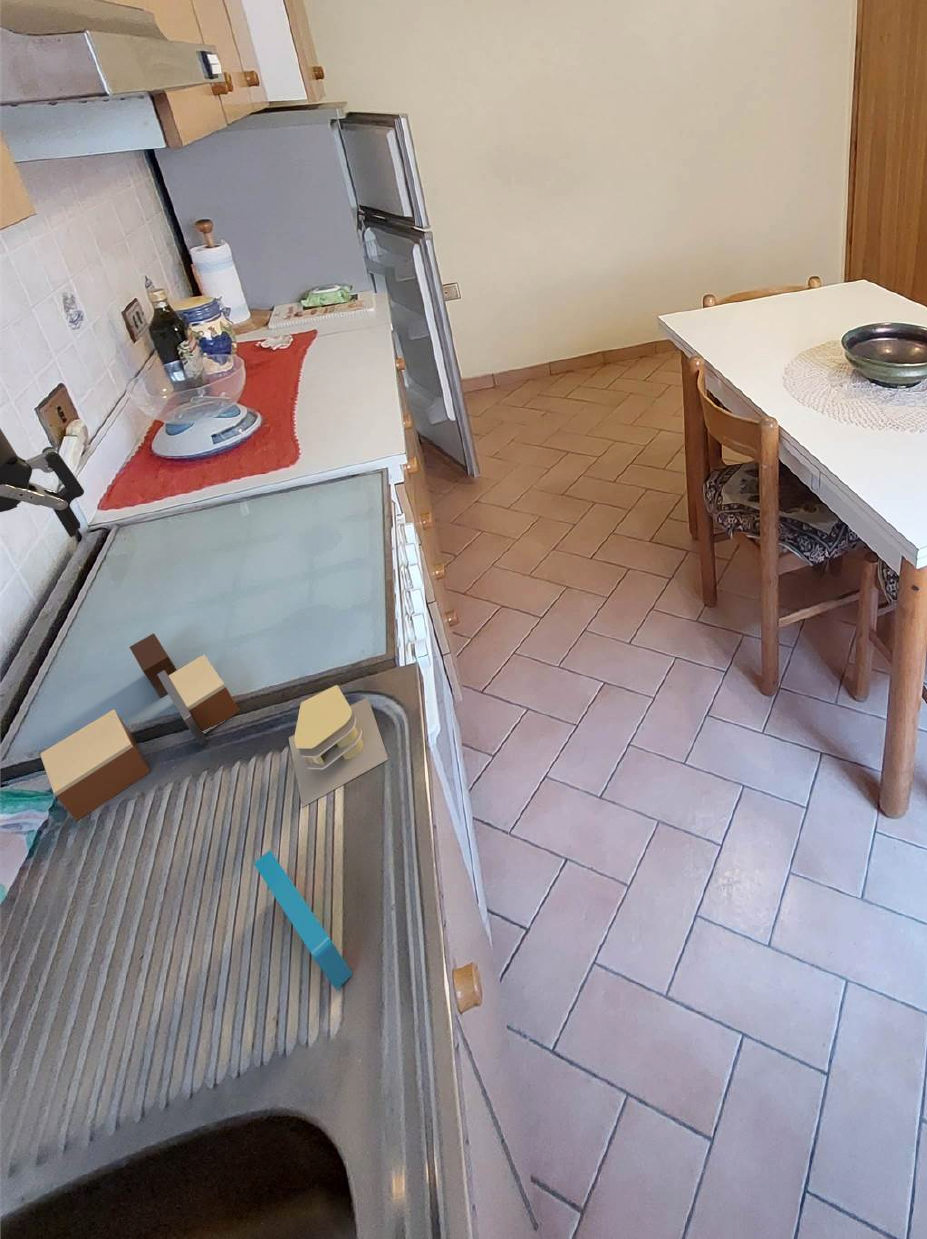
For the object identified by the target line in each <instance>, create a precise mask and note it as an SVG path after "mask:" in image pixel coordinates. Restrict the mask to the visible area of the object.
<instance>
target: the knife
mask: <svg viewBox="0 0 927 1239" xmlns="http://www.w3.org/2000/svg"><path fill="white" fill-rule="evenodd" d="M129 650H130V651H131V653H132V654H133V656H134V658H135V660H136V662H137V663H138V665H139V667H140V669H141V670H142V672H143V674H144V676H145V677H146V678H147V680H148V681H149V683H150V684H151V686H152V688H153V689H154V690H155V692H156V694H157V695H158V696H159V698H160V699H162V698H164V697H165V696H167V695H168V696H169V698H170V699H171V701H172V703H173V704H174V706H175V708H176V710H177V711H178V713H179V715H180V717H181V718H182V720H183V722H184V723H185V724H186V727H187V728H188V729H189V731H190V732H191V734H192V735H193V737H194V739H195V740H196V741H197V743H198V744H199V746H200V748H204V747H205V746H207V745H208V744H209V743H208V742H209V740H208V738H207V736H206V734H205V735H204V734H203V732H202V730H201V729H200V727H199V726H198V724H197V722H196V721H195V719H194V718H193V716H192V715H191V713H190V711H189V710H188V708H187V707H186V705H185V703H184V702H183V700H182V698H181V697H180V695H179V693H178V692H177V690H176V688H175V687H174V685H173V683H172V682H171V680H170V678H169V677H168V676H169V675H170V674H172V673H174V672H175V671H177V670H178V669H177V667H176V666H175V664H174V662H173V661H172V659H171V657H170V656H169V654H168V653H167V651H166V650H165V648H164V646H163V645H162V643H161V642H160V640H159V638H158V637H157V635H156V634H155V633H154V632H153V633H151V634H149V635H148V636H146V637H144V638H142V639H140V640H139V641H138V642H135V643H134V644H132V645H130V646H129ZM206 738H207V739H206ZM207 743H208V744H207Z"/></svg>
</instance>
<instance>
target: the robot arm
mask: <svg viewBox="0 0 927 1239" xmlns="http://www.w3.org/2000/svg"><path fill="white" fill-rule="evenodd" d="M33 470H41V471H42V472H43V473H45V474H50V473H53V472H54V474H55V475H56V476H57V478H58V479H59V481H60V482H61V483H62V486H64V487H62V488H61V489H60V490H58V491H56V490H53V489H49V488H46V487H43V486H42V485H40V484H37V483H34V482H32V481H30V480H31V477H32V474H33ZM84 494H85V490H84V488H83V487H82V485H81V483H80V482H79V480H78V479H77V478H76V476H75V475H74V473H73V472H72V470H71V469H70V468H69V467H68V465H67V463H66V462H65V460H64V459H63V457H62V456H61V455H60V453H59V452H58V450H57V448H55V447H53V446H47V447H45V448H43V449H42V452H41V453H40V454H37V455H36V456H33V457H30V458H28V459H24V458H21V457H20V456H19V455H18V454H17V453H16V451H15V450H14V448H13V446H12V445H11V443H10V442H9V440H8V438H7V437H6V435H5V434H4V432H3V430H2V429H1V428H0V513H4V512H8V511H11V510H14V509H16V508H18V505H20V503H22V502H24V503H27V504H31V505H34V506H37V507H38V506H43V507H46V508H49V509H52V510H53V513H55V515H56V517H57V518H58V520H59V522H60V523H61V525H62V526H63V528H64V529H65V531H66V533H67V535H68V536H69V538H70V539H71V538H74V537H76V536H78V533H77V530H80V529H81V523H80V521H79V519H78V517H77V516H76V514H75V512H74V511H73V509H72V507H71V503H72V502H73V501H74V500H75V499H77V498H80V497H82V496H83V495H84Z"/></svg>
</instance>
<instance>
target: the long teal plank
mask: <svg viewBox="0 0 927 1239" xmlns="http://www.w3.org/2000/svg"><path fill="white" fill-rule="evenodd" d="M253 865H254V866H255V868H256V870H257V871H258V873H259V874H260V876H261V878H262V879H263V881H264V882H265V884H266V885H267V887H268V888H269V890H270V892H271V893H272V895H273V896H274V898H275V900H276V901H277V902H278V904H279V906H280V908H281V909H282V910H283V912H284V914H285V915H286V917H287V918H288V920H289V922H290V923H291V924H292V926H293V928H294V929H295V931H296V933H297V934H298V936H299V937H300V939H301V940H302V942H303V943H304V945H305V947H306V948H307V949H308V951H309V953H310V954H311V956H312V958H313V959H314V960H315V962H316V963H317V964H318V966H319V968H320V969H321V970H322V972H323V973H324V975H325V976H326V978H327V979H328V980H329V982H330V983H331V985H332V986H333V989H335V991H338V990H339V989H340V988H341V987H342V986H343V985H344V984H345V983H346V982H347V980H348V979H350V978H351V977H352V976H353V972H352V971H351V969H350V967H349V966H348V964H347V963H346V961H345V960H344V957H342V955H341V954H340V952H339V951H338V949H337V947H336V946H335V944H334V943H333V942H332V939H331V938H330V937H329V935H328V933H327V932H326V930H325V929H324V928H323V926H322V924H321V923H320V922H319V920H318V919H317V918H316V916H315V914H314V913H313V911H312V910H311V908H310V907H309V905H308V904H307V903H306V901H305V900H304V898H303V896H302V895H301V894H300V892H299V891H298V889H297V888H296V886H295V884H294V883H293V881H292V880H291V878H290V877H289V876H288V874H287V872H286V871H285V870H284V868H283V867H282V865H281V864H280V863H279V861H278V859H277V858H276V856H275V854H274V853H273V852H272V851H271V849H268V850H267V851H266V852H265V853H264V854H262V856H260V857H259V858H257V859H256V860H255V861H254V862H253Z"/></svg>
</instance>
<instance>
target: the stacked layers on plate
mask: <svg viewBox="0 0 927 1239" xmlns="http://www.w3.org/2000/svg"><path fill="white" fill-rule="evenodd" d="M288 742H289V747H290V753H291V758H292V763H293V768H294V773H295V778H296V783H297V788H298V794H299V798H300V804H301V808H305V807H306V806H307V805H309V804H311V803H313V802H314V801H316V800H318V799H320V798H322V797H323V796H325V795H327V794H329V793H331V792H333V791H334V790H336V789H338V788H340V787H341V786H344V785H345V784H347V783H348V782H350V781H352V780H354V779H356V778H357V777H359V776H361V775H363V774H365V773H366V772H368V771H370V770H372V769H373V768H375V767H377V766H379V765H381V764H383V763H384V762H386V761H388V760H389V756H388V754H387V750H386V747H385V744H384V741H383V739H382V735H381V732H380V728H379V726H378V723H377V720H376V717H375V714H374V711H373V708H372V705H371V702H370V698H369V697H368V696H366V697H364V698H363V699H361V700H359V701H357V702H355V703H353V704H351V705H350V704H349V702H348V701H347V699H346V697H345V695H344V694H343V692H342V691H341V689H340V687H339V685H338V684H336V685H333V686H332V687H331V686H330V687H329V688H327V689H325V690H324V691H322V692H320V693H317V694H315V695H314V696H311V697H310V698H308V699H305V700H303V701H301V702H300V704H299V711H298V716H297V721H296V727H295V731H294V734H293V735H290V736H289V737H288Z"/></svg>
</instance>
